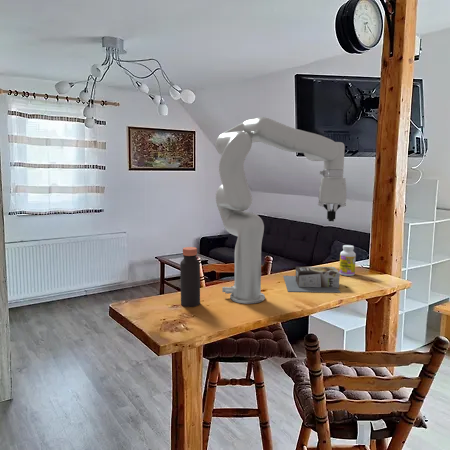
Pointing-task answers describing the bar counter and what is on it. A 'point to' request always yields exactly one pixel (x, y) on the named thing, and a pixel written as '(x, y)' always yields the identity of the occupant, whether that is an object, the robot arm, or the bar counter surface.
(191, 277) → the black water bottle
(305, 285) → the coffee box
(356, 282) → the bar counter surface
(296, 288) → the mat
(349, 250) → the supplement bottle
